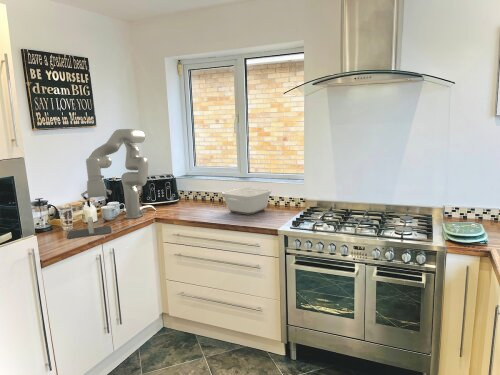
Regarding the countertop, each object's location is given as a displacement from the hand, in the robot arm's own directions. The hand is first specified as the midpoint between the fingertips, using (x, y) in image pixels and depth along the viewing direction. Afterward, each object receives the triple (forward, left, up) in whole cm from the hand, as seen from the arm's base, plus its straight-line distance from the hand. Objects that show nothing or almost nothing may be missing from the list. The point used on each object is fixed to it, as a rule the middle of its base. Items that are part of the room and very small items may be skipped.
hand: (98, 205), depth 228 cm
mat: (+6, 0, -16) cm, 17 cm away
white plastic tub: (-98, -1, -16) cm, 99 cm away
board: (+5, 0, -15) cm, 16 cm away
